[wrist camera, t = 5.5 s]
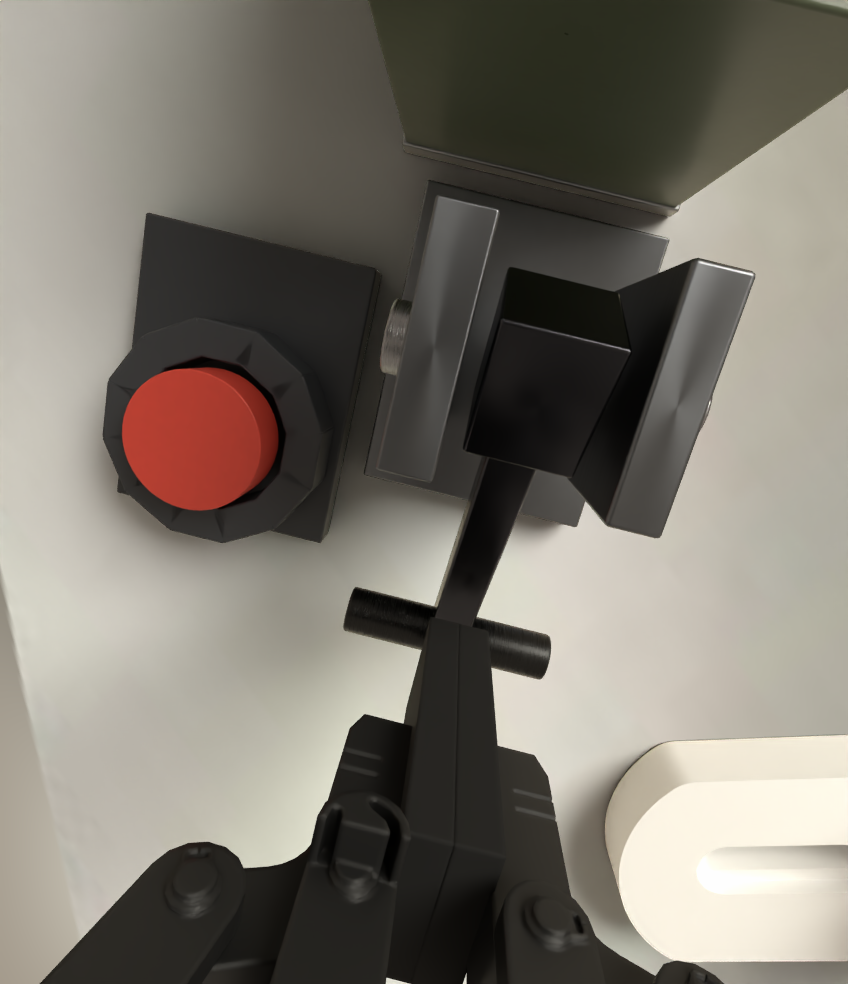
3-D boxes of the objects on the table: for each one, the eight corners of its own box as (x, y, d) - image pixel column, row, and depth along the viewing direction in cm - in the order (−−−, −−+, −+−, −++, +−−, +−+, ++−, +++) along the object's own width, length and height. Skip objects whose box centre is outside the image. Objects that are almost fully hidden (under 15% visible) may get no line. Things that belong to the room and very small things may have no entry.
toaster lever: (538, 635, 18) (536, 705, 16) (357, 590, 18) (335, 654, 16) (718, 316, 11) (751, 380, 9) (411, 240, 11) (383, 289, 9)
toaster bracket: (570, 518, 22) (690, 703, 10) (368, 468, 22) (262, 595, 10) (658, 245, 19) (943, 86, 8) (429, 189, 19) (379, -50, 8)
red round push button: (159, 352, 19) (128, 353, 17) (289, 385, 19) (271, 388, 17) (144, 480, 20) (114, 492, 18) (267, 510, 20) (248, 525, 18)
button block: (163, 219, 20) (112, 196, 17) (382, 273, 20) (368, 259, 17) (133, 489, 23) (84, 509, 20) (327, 537, 23) (307, 565, 20)
